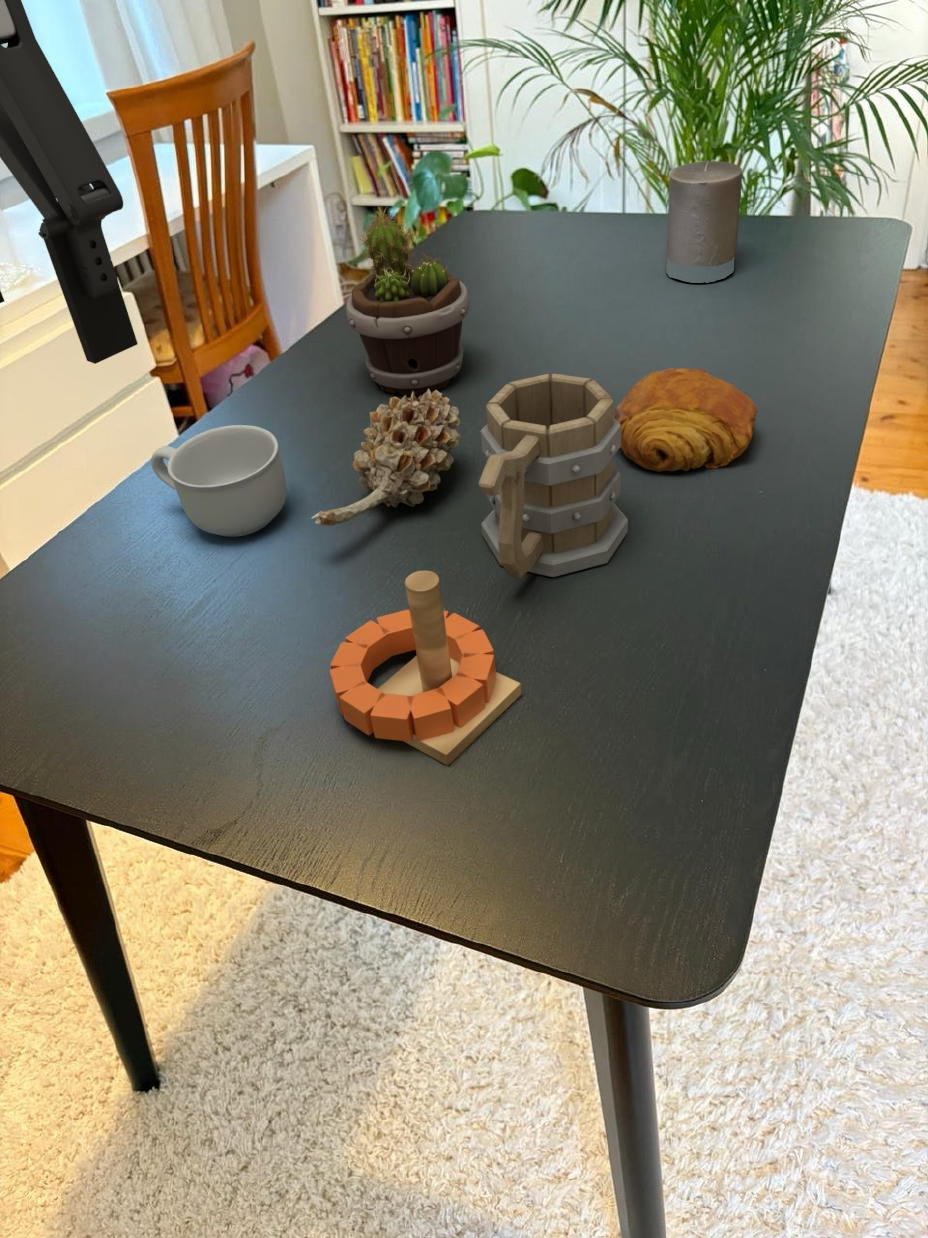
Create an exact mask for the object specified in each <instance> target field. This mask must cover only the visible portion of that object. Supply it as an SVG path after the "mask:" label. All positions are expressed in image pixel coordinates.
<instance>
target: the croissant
mask: <svg viewBox="0 0 928 1238" xmlns="http://www.w3.org/2000/svg"><path fill="white" fill-rule="evenodd" d="M758 412H759V411H758V408H757V407H756V405H755V403H754V402H753V400H752V399H751V398H750V397H749V396H748V395H747V394H745V393H744V392H742V391H741V390H739V389H738V388H737V387H736V386H735V385H734V384H731V383H729V382H728V381H725V380H723V379H721V378H719V377H716V376H713V375H711V374H709V373H708V372H706V369H702V368H684V367H683V368H676V367H670V368H667V369H663V370H659V371H656V370H655V371H653V372H650V373H648V374H646V375H644V376H643V377H642V378H641V379H639V380H638V381H637V382H636V383H634V385H633V386H631V387H630V388H629V390H628V391H627V392H626V394H625V396H624V397H623V399H622V400H621V401H620V402H619V403H618V404H617V407H616V408H615V410H614V414H613V417H614V418H615V420H616V421H617V422H618V423H619V424H620V425H621V447H620V449H621V450H622V452H623V454H624V455H625V456H626V458H628V459H629V460H631V461H633V463H635V464H636V465H638V466H640V467H641V468H643V469H645V470H650V471H653V472H658V473H659V472H666V471H669V472H675V471H679V470H681V471H686V472H687V471H689V470H690V469H693V470H695V469H699V468H701V467H702V466H704V467H705V469H718V468H719V467H724V466H727V465H729V463H731V462H732V461H734V460H735V459H737V458H738V457H740V456H741V455H742V454H743V453H744V452H745V451H746V450H747V448H748V446H749V444H750V443H751V441H752V438H753V436H754V435H753V434H754V430H755V429H756V428H755V426H756V425H755V421H756V417H757V414H758Z"/></svg>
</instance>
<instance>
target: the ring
mask: <svg viewBox="0 0 928 1238" xmlns="http://www.w3.org/2000/svg"><path fill="white" fill-rule="evenodd" d="M443 611H444V619H445V626H446V633H447V641H448V648H449V656H450V657H451V658H452V659H454V660H456V661H458V663H459V668H458V671H457V674H456V675H454V676H453V677H452V678H451V679H449V680H448V681H447V682H445V683H444V684H443V685H442V686H440V687H439V688H437V689H434V690H430V691H426V692H423V693H419V694H415V695H412V696H407V695H397V694H387V693H383V692H381V691H380V690H378V688H376V687H375V686H373V685H372V684H371V683H369V679H370V677H371V675H372V672H373V670H375V669H376V668H377V667H379V666H380V665H381V664H383V663H384V662H385V661H387V660H388V659H390V658H391V657H393V656H396V655H401V654H404V653H409V652H412V651H416V648H415V642H414V636H413V629H412V623H411V617H410V611H409V608H408V609H404V610H400V611H396V612H393V613H389V614H385V615H380V616H377V617H376V622H375V621H373V620H372V619H370V620H369V621H366V623H364V624H363V625H362V626H360V627H358V628H357V629H355V630H354V631H353V632H351V633H350V634H348V635H346V636H345V638H344V639H345V641H341V642H340V644H339V646H338V648H337V650H336V652H335V654H334V656H333V658H332V660H331V662H330V664H329V666H330V669H329V675H330V679H331V683H332V688H333V692H334V696H335V699H336V702H337V706H338V709H339V712H340V715H341V716H343V718H344V720H345V721H346V722H348V723H350V724H351V725H352V726H354V727H355V728H357V729H358V730H360V731H361V732H363V733H364V734H365V735H367V736H371V735H372V734H374V738H375V739H381V740H391V741H400V742H404V741H408V742H411V740H412V737H413V735H414V732H415V735H416V738H417V740H418V741H421V740H425V739H428V738H432V737H435V736H439V735H443V734H446V733H450V732H453V731H454V724H455V725H457V726H458V727H460V728H461V727H462V726H463V725H464V724H466V723H467V722H468V721H469V720H471V719H472V718H473V717H474V716H475V715H477V714H478V713H479V712H480V711H481V710H483V709H484V708H485V702H487V703H489V701H490V697H491V694H492V691H493V687H494V684H495V681H496V672H497V669H496V657H495V651H494V648H493V646H492V644H491V642H490V640H489V638H488V636H487V634H486V632H485V630H484V629H483V628H481V629H480V625H479V624H477V623H475V622H474V621H472V620H469V619H467V618H465V617H463V616H461V615H460V614H458V613H456V612H452V613H451V614H450V611H448V610H443Z"/></svg>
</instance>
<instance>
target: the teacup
mask: <svg viewBox="0 0 928 1238" xmlns="http://www.w3.org/2000/svg"><path fill="white" fill-rule="evenodd" d="M279 450H280V447H279V443H278V440H277V438H276V437H275V435H274V434H273V433H272V432H270V431H268V430H267V429H265V428H262V427H260V426H255V425H249V424H248V425H247V424H232V425H225V426H220V427H219V426H218V427H215V428H211V429H208V430H205V431H203V432H201V433H198V434H196V435H194V436H192V437H190V438H189V439H187V440H186V441H184V442H183V443H181V444H180V445H179V446H178V447H177V448H175V447H172V446H169V445H163V446H160V447H158V448H156V450H154V452H153V453H152V455H151V458H150V464H151V469H152V470H153V472H154V474H155V475H156V476H157V478H158V479H159V480H160V481H162V482H163V483H164V484H165V485H166V486H168V487H169V488H172V490H175V491H176V494H177V497H178V499H179V500H180V503H181V506H182V508H183V510H184V513H185V514H186V516H187V518H188V519H189V520H190V522H192V524H194V526H196V528H198V529H200V530H202V531H204V532H207V533H209V534H213V535H218V536H221V537H227V538H228V537H231V538H233V537H242V536H246V535H250V534H253V533H255V532H257V531H259V530H261V529H263V528H265V527H266V526H267V525H268V524H269V523H270V522H271V521H272V520H273V519H274V518H276V516H277V515H278V514H279V513H280V511H281V510H282V509H283V506H284V504H285V502H286V499H287V491H288V490H287V481H286V475H285V472H284V471H285V470H284V467H283V463H282V458H281V455H280V451H279ZM164 459H166V460H168V462H167V465H166V463H165V460H164Z"/></svg>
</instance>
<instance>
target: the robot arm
mask: <svg viewBox="0 0 928 1238" xmlns="http://www.w3.org/2000/svg"><path fill="white" fill-rule="evenodd" d="M5 44H6V45H7V46H6V47H5V46H3V45H5ZM81 120H82V119H81V118H80V117H79V115H78V113H77V111H76V109H75V107H74V105H73V104H72V102H71V100H70V99H69V97H68V94H67V93H66V91H65V89H64V88H63V86H62V84H61V82H60V80H59V79H58V76H57V75H56V73H55V71H54V69H53V67H52V66H51V64H50V62H49V60H48V58H47V57H46V55H45V53H44V50H42V48H41V46H40V44H39V42H38V40H37V39H36V36H35V33H34V31H33V28H32V25H31V23H30V19H29V17H28V14H27V12H26V10H25V6H24V4H23V1H22V0H0V159H1V161H2V162H3V163H4V165H5V166H6V168H7V169H8V171H9V172H10V173H11V175H12V176H13V177H14V179H15V180H16V181H17V183H18V184H19V186H20V187H21V188H22V190H23V191H24V193H25V194H26V195H27V197H28V198H29V200H30V201H31V202H32V203H33V205H34V207H35V208H36V209H37V210H38V212H39V213H40V215H41V216H42V217H43V218H42V220H41V221H42V222H41V223H40V226H39V229H38V230H39V232H38V235H39V237H41V239H42V240H43V241H44V244H45V248H46V250H47V253H48V256H49V258H50V262H51V265H52V267H53V270H54V273H55V275H56V278H57V281H58V284H59V287H60V290H61V293H62V294H63V298H64V300H65V303H66V307H67V309H68V312H69V314H70V317H71V320H72V323H73V326H74V328H75V332H76V334H77V336H78V340H79V343H80V345H81V349H82V352H83V354H84V357H85V359H86V361H87V362H89V363H92V364H95V365H96V364H98V363H100V362H102V361H105V360H107V359H109V358H111V357H114V356H115V355H118V354H119V353H122V352H124V351H127V350H128V349H131V348H133V347H135V346H137V345H138V343H139V342H138V339H137V337H136V335H135V331H134V327H133V325H132V321H131V319H130V315H129V312H128V309H127V306H126V302H125V299H124V296H123V292H122V289H121V287H120V284H119V278H118V276H117V272H116V269H115V268H114V267H115V266H114V263H113V260H112V257H111V254H110V251H109V247H108V243H107V241H106V239H105V235H104V231H103V226H102V222H103V220H104V219H105V218H106V217H107V216H109V215H111V214H113V213H115V212H118V211H120V210H122V209H123V208H124V199H123V196H122V194H121V191H120V189H119V187H118V185H117V184H116V182H115V180H114V179H113V177H112V175H111V173H110V171H109V169H108V168H107V166H106V163H105V162H104V160H103V158H102V157H101V155H100V153H99V151H98V150H97V148H96V146H95V144H94V142H93V140H92V138H91V136H90V135H89V133H88V130H86V127H85V125H84V124H83V122H82V121H81ZM4 302H5V298H4V296H3V293H2V291H1V290H0V304H1V303H4Z"/></svg>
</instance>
